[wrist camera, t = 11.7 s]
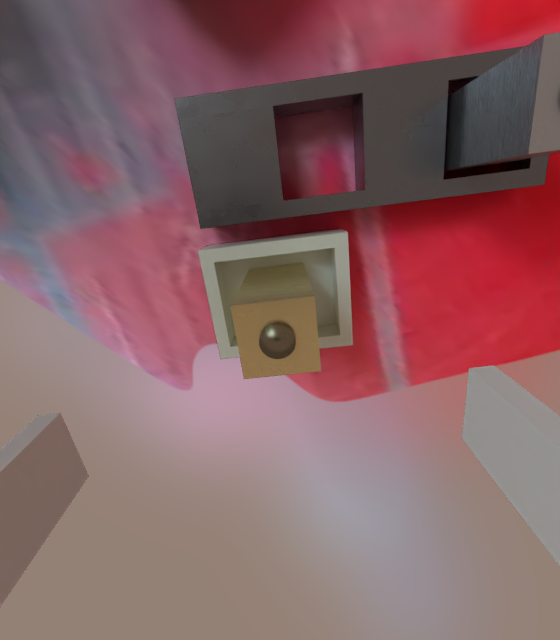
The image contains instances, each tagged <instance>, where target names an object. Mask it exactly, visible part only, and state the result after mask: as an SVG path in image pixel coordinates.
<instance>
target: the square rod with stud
mask: <svg viewBox="0 0 560 640" xmlns="http://www.w3.org/2000/svg"><path fill="white" fill-rule="evenodd" d="M557 153H560V32H559V33H552V34H546V35H543V36H541V37H540V38H538V39H537V40H535V41H534V42H532V43H531V44H529V45H527V46H526V47H524V48H523V49H521V50H520V51H518V52H517V53H515V54H513V55H512V56H510V57H509V58H507V59H506V60H504V61H503V62H501V63H499V64H498V65H496V66H495V67H493V68H492V69H490V70H489V71H487V72H485V73H484V74H482V75H481V76H479V77H478V78H476V79H474V80H473V81H471V82H470V83H468V84H467V85H465V86H464V87H462V88H460V89H459V90H457V91H456V92H454V93H453V94H451V95H450V96H448V103H447V122H446V141H445V160H444V171H451V170H459V169H467V168H474V167H482V166H489V165H496V164H501V163H507V162H513V161H518V160H524V159H529V158H535V157H540V156H546V155H551V154H557Z"/></svg>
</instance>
